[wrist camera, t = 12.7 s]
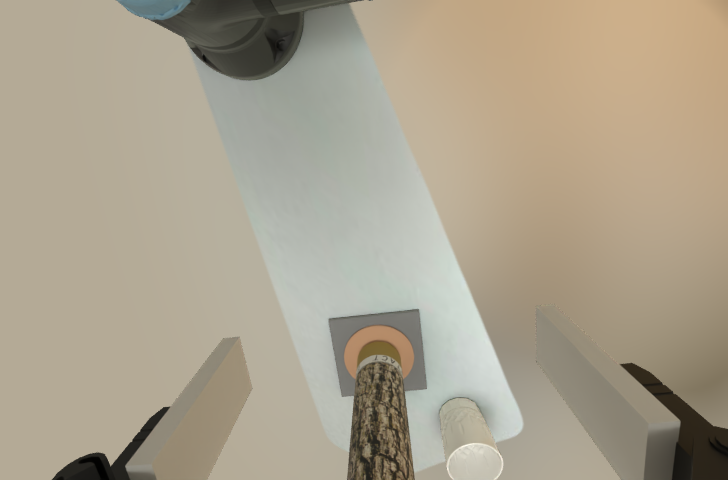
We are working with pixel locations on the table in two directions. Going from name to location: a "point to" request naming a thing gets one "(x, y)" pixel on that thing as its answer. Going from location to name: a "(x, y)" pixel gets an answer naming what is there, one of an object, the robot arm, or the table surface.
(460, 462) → the white cup
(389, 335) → the coaster
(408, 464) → the brown bark cylinder
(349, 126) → the table surface
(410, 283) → the table surface
